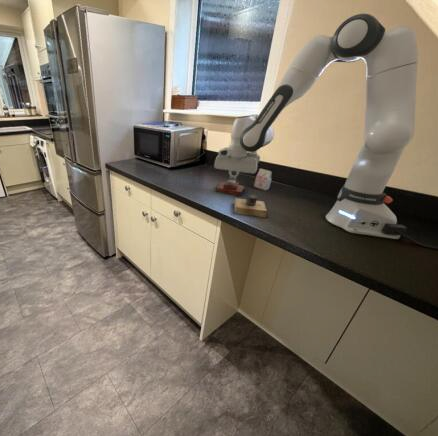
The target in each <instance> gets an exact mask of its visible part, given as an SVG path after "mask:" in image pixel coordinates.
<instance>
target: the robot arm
mask: <svg viewBox="0 0 438 436" xmlns="http://www.w3.org/2000/svg"><path fill="white" fill-rule="evenodd" d="M416 37H417V36H416V33H415V30H414V29H413V28H411V27H407V26H403V27H397V28H393V29H390V30H387V31H386V27H384V26H383V24H381V22H380V21H379V20H378V19H377V18H376V17H375V16H374V15H372V14H369V13H357V14H355V15H352V16H350V17H348V18H347V19H345V20H344V21H343V22H342V23H340V25H339V26H338V27H337V28H336V30H335V31H334V33H333V36H329V35H325V34H318V35H315V36H313V37H311V38H310V39H309V40H308V41H307V42H306V43H305V44H304V45H303V47H302V48H301V50H300V51H299V52H298V53H297V55H295V57H294V59H293V61H292V62H291V64H289V66H288V68H287V70H286V71H285V73H284V75H283V76H282V78H281V80H280V81H279V83H278V85H277V87H276V88H275V90H274V92H273V94H272V95H271V97H270V98H269V100H268V101H267V103H266V104H265V105H264V107H263V108H262V110H261V111H260V112H259V114H258V116H257V117H256V118H255V116H254V115H243V116H238V117H236V118H235V119H234V121H233V124H232V128H231V132H230V142H229V146H228V147H223V148H220V149H219V150H218V154H217V156H216V158H215V159H214V164H213V166H214V169H215V170H223V171H228V174H229V180H234V181H237V177H238V175H239V174H240V173H246V174H253V175H254V174H255V173H256V172H257V171H258V164H259V163H260V161H261V160H260V159H261V156H260V155H259V154H258V153H253V152H256V151H258V150H260V149H262V148H263V147H265V146H267V145H269V144H270V143H271V142H272V141H273V140H274V137H275V132H274V129H273V128H272V125H273V124H274V122H275V121H276V120H277V118H279V115H280V114H282V112H283V110H285V109H286V108H287V107H288V106H289V105H291V104H292V103H293V102H295V101H297V100H299V99H300V98H302V97H303V96H304V95H305V94H306V93H307V92H308V91H310V89H311V88H312V87H313V85H314V84H315V83H316V82H317V80H318V79H319V78H320V76H321V75H322V73H323V72H324V70H326V68H327V67H328V66H329V65H330V64H332V63H333V62H334V63H355V62H357V61H360V60H363V61H364V63H365V66H366V67H365V68H366V73H365V74H366V80H365V81H366V85H365V88H366V89H365V90H366V91H365V97H366V98H365V114H364V136H363V142H362V145H361V147H360V149H359V152H358V154H357V156H356V157H355V160H354V162H353V164H352V166H351V169H350V171H349V174H348V175H347V178H346V180H345V183H344V184H343V185H342V186H341V188H340V190H339V192H338V194H337V196H336V197H337V200H336V201H335V203H334V205H333V206H332V208H331V209H330V210H329V212H327V213H326V214H325V219H326V221H327V222H329V223H331V224H332V225H335V226H336V227H339V228H341V229H343V230H344V231H346V232H348V233H351V234H358V235H364V236H365V235H366V236H372V237H379V238H385V239H393V240H399V239H400V238H401V236H402V237H403V238H405V239H407V240H408V241H410V242H411V243H413V244H415V245H417V246H420V247H423V248H428V249H433V250H438V246H434V245H430V244H426V243H422V242H418V241H417V240H415V239H413V238H412V237H410V236H409V235H407V234H405V233H406V232H407V230H408V227H406V226H405V225H404V224H398V219H397V216H396V214H395V213H394V212H393V211H392V210H391V209H390V208H389V206H388V205H386V204H391V203H392V202H393V198H392V197H391V196H389V195H387V194H386V193H385V192H384V190H385V189H386V187H387V185H388V183H389V181H390V180H391V177H392V175H393V173H394V172H395V169H396V167H397V165H398V162H399V160H400V158H401V156H402V154H403V152H404V150H405V148H406V147H407V146H408V145H409V144H410V143H411V142H412V140H413V139H414V137H415V128H416V127H415V126H416V125H415V124H416V97H417V78H418V61H419V60H418V59H419V57H418V55H419V53H418V43H417V42H418V41H417V38H416ZM233 172H235V175H233Z"/></svg>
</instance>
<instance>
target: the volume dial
mask: <svg viewBox="0 0 438 436" xmlns="http://www.w3.org/2000/svg"><path fill="white" fill-rule="evenodd" d="M256 201H258V196H257V195H255V194H247V196H246V204H247V205H249V206H255V205H256Z"/></svg>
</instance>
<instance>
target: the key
mask: <svg viewBox="0 0 438 436" xmlns="http://www.w3.org/2000/svg"><path fill="white" fill-rule="evenodd" d="M227 181H228V183H227V184H229V185H235V184H236V182H237V180H233V179H228V180H227Z"/></svg>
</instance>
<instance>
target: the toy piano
mask: <svg viewBox="0 0 438 436" xmlns="http://www.w3.org/2000/svg"><path fill="white" fill-rule="evenodd" d="M228 181H229V180H226V181H225V182H223V181H222V182H220V183H219V184H218V186H217V187H216V190H215V191H216V193H221V194H227V195H232V196H238V197H241V196H242V194H243V191H244V189H245V185H240V183H239V182H237V181H236V184H235V185H229V184H227V183H228Z"/></svg>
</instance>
